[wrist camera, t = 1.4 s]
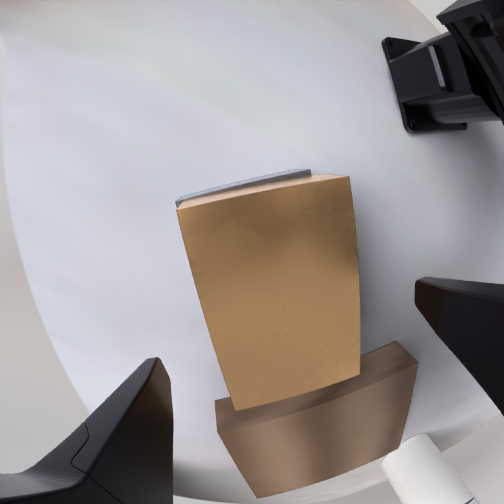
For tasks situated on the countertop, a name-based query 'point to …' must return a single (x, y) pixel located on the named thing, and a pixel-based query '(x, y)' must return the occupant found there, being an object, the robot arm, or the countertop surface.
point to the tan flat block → (278, 284)
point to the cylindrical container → (424, 474)
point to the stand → (321, 426)
